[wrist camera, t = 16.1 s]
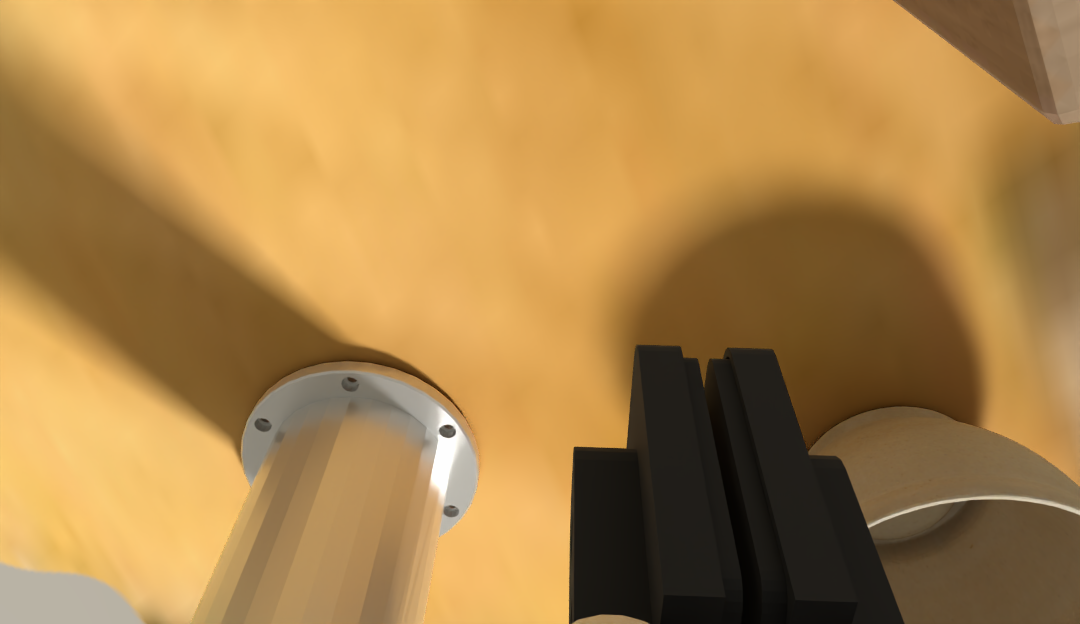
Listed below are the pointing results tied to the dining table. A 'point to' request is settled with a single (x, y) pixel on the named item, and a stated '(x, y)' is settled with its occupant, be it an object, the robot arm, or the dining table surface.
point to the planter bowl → (962, 518)
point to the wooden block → (1016, 46)
